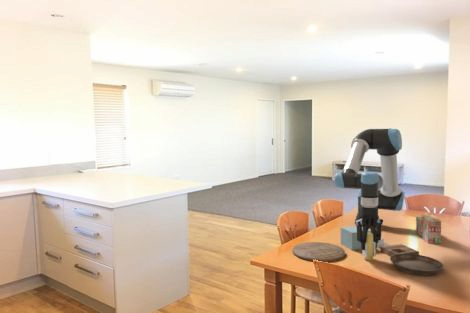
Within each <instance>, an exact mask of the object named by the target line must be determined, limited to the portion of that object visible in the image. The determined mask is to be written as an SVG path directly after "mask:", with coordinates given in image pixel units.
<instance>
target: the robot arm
mask: <svg viewBox="0 0 470 313" xmlns="http://www.w3.org/2000/svg"><path fill="white" fill-rule="evenodd" d="M350 147H351V149H350V151H349V154H348V156H347V159H346V161H345V163H344V167H343V169H342V172H337V173H335V175H334V185H335V187H336V188H339V189H340V188H341V189H354V190H355V189H356V190H357V189H358V191H357V213H356V215H355V219H354V225H355V226H357V241H359V242H361V249H360V250H361V251H362V253H361V254H362V255H361V256H363V257H364V258H365V257H367V243H366V239H367V233H368V230H370V231H371V233H373V258H374V257H376V249H377V243H378V242H379V240H381V238H382V227H383V223H384V219H382V218H380V216H379V210H382V211H383V210H384V211H386V210H387V211H393V212H395V211H398V212H400V211H402V210H403V207H404V200H405V192H404V191H402V188H401V187H400V186H399V174H398V173H399V172H398V159H397V158H398V157H397V156H398V155H397V154H399V152H400V150H402V148H403V140H402V134H401V131H400V130H399V129H397V128H391V127H390V128H368V129H364V130H362V131H361V132H359V133H357V135H356V136H355V137H354V138H353V139H352V141H351V144H350ZM369 150H376V153H377V154H378V155H379V157H380V168H381V169H380V170H381V174H379V173H378V172H376V171H364V172H362V173H359V171H360V169H361V166H362V163H363V160H364V157H365V154H366V153H367V152H368V151H369ZM362 227H363V229H362Z"/></svg>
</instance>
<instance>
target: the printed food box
mask: <svg viewBox="0 0 470 313" xmlns="http://www.w3.org/2000/svg"><path fill="white" fill-rule="evenodd" d="M415 218H416V219H415V224H416V225H415V227H416V228H415V232H416V233H417V234H418V236H420V237H421V238H422V239H423V240H424V241H425V242H426V243H427V244H438V245H439V244H441V239H442V238H441V236H442V235H441V234H442V220H441V219H439V218H438V217H437V216H435V215H432V214H431V215H430V214H421V216H415Z"/></svg>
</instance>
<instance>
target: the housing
mask: <svg viewBox="0 0 470 313" xmlns="http://www.w3.org/2000/svg"><path fill="white" fill-rule="evenodd" d="M362 229H363V227H362ZM368 233H371V230H370V229H368ZM340 245H342V246H344V247H345V248H346V249H349V250H351V251H357V250H358V251H359V250H362V249H361V242H359V241H357V226H356V225H354V226H353V225H352V226H343V227H342V226H341V227H340Z"/></svg>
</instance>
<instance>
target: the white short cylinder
mask: <svg viewBox="0 0 470 313" xmlns="http://www.w3.org/2000/svg"><path fill="white" fill-rule="evenodd" d="M388 245H390V244H388V243H386V242H385V239H384V238H383V237H381V240H379V242H378V243H377V248H378V249H380V247H381V246H388ZM377 248H376V249H377Z"/></svg>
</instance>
